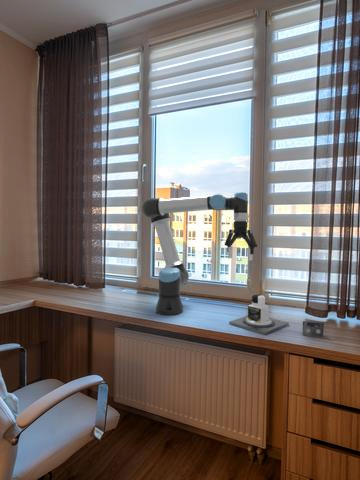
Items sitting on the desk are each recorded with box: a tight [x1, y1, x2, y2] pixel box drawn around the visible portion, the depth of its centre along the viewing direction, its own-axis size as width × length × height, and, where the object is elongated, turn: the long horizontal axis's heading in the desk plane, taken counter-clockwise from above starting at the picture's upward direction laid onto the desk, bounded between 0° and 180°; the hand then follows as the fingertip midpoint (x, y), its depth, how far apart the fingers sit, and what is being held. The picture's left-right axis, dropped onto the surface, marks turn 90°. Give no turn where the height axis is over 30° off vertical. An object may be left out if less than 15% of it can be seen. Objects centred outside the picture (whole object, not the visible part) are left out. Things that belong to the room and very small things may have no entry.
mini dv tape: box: [301, 320, 325, 338], centre depth 135 cm, size 8×2×6 cm, turn 75°
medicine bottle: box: [247, 294, 270, 323], centre depth 149 cm, size 7×7×12 cm
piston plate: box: [228, 315, 289, 336], centre depth 149 cm, size 20×20×2 cm
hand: (240, 259), depth 172 cm, fingers open, 13 cm apart
